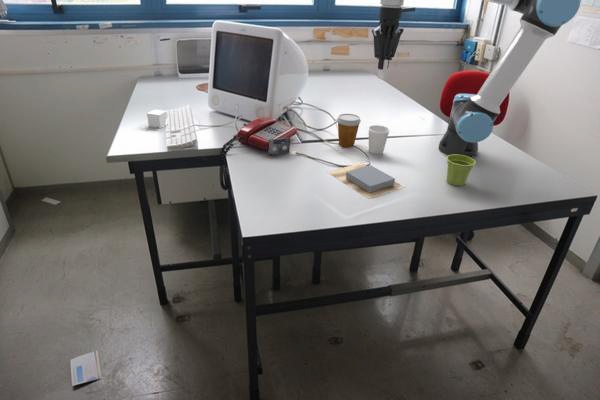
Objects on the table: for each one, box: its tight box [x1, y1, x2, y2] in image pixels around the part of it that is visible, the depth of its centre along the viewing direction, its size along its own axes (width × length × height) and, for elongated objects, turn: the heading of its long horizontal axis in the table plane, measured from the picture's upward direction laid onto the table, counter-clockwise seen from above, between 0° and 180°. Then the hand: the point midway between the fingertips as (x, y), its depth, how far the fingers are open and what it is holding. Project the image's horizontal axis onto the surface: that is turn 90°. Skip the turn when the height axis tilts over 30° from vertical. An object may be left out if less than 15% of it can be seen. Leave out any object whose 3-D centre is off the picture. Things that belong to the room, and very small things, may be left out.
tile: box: [346, 164, 396, 193], centre depth 138 cm, size 3×11×12 cm
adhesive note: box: [146, 109, 169, 129], centre depth 179 cm, size 6×6×6 cm
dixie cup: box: [367, 124, 391, 155], centre depth 160 cm, size 8×8×10 cm
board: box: [326, 162, 405, 200], centre depth 140 cm, size 22×16×1 cm
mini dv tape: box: [267, 136, 291, 156], centre depth 158 cm, size 8×2×6 cm, turn 111°
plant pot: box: [446, 154, 477, 187], centre depth 141 cm, size 9×9×9 cm
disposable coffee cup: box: [336, 113, 362, 149], centre depth 166 cm, size 10×10×12 cm
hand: (381, 78), depth 147 cm, fingers closed
